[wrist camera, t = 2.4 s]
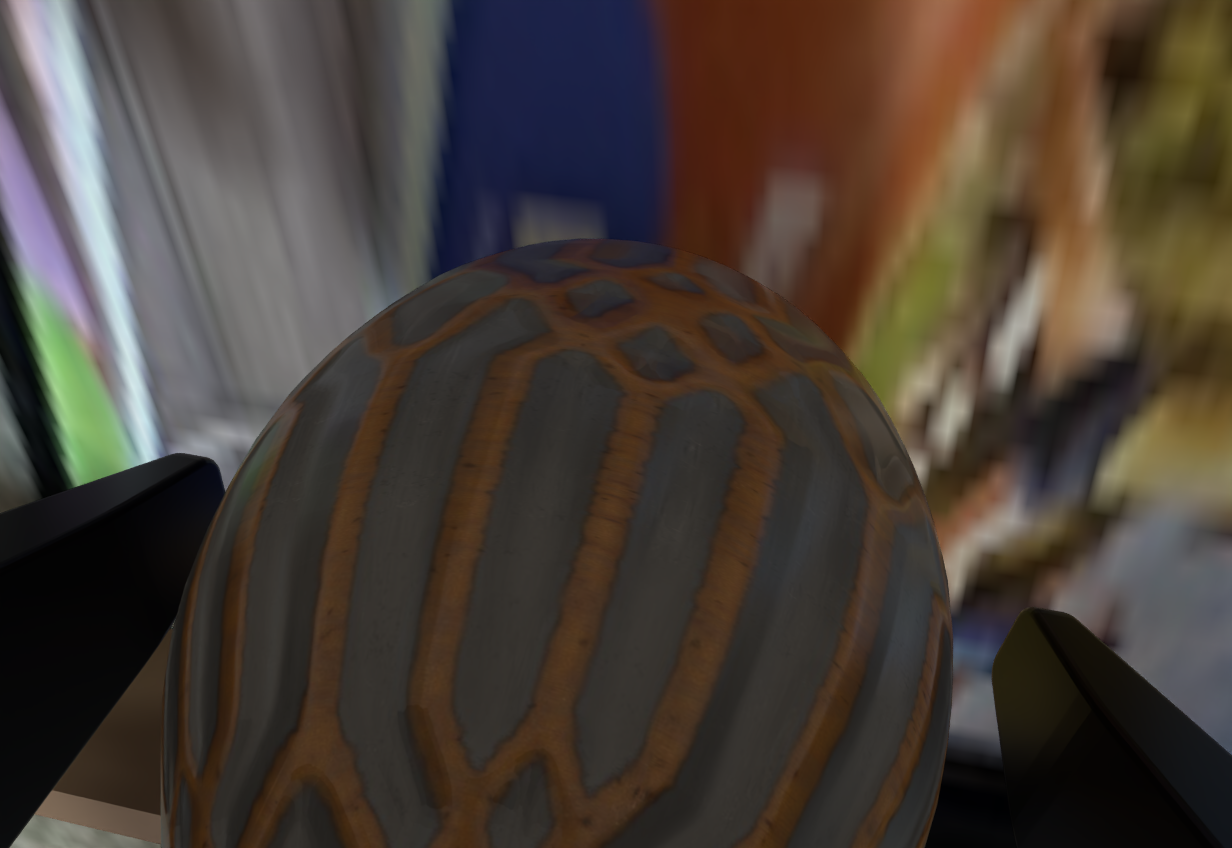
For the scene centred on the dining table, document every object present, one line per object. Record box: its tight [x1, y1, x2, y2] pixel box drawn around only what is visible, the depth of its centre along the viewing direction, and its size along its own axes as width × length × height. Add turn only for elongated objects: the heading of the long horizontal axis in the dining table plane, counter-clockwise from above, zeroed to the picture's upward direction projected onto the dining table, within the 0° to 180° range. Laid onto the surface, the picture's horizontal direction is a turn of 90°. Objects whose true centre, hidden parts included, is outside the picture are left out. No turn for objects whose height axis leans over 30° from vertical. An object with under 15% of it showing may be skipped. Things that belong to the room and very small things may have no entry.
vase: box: [161, 239, 953, 848], centre depth 7 cm, size 7×7×9 cm
